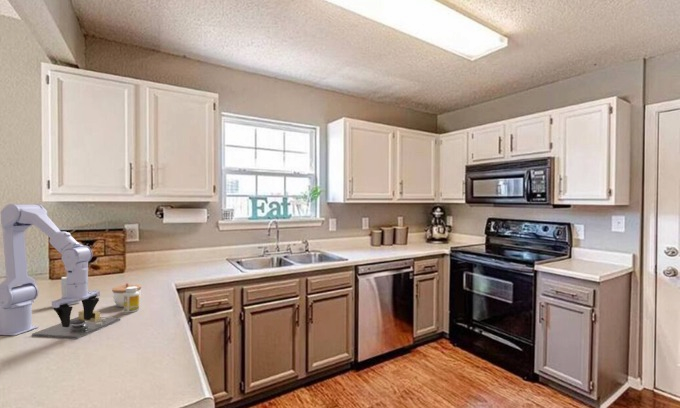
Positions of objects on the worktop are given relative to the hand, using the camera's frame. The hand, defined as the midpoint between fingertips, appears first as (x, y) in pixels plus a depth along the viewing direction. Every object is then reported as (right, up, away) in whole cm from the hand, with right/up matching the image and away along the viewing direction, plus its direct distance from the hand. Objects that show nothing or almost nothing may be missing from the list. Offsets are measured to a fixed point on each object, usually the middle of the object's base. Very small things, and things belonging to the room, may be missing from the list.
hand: (77, 323), depth 113 cm
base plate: (-4, -4, +7) cm, 9 cm away
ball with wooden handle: (-2, -2, +6) cm, 6 cm away
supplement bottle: (+2, -4, +26) cm, 26 cm away
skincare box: (-31, -4, +35) cm, 47 cm away
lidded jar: (-5, -4, +34) cm, 34 cm away
